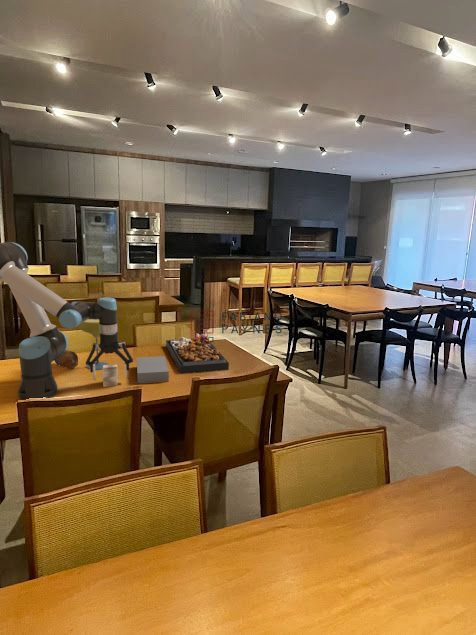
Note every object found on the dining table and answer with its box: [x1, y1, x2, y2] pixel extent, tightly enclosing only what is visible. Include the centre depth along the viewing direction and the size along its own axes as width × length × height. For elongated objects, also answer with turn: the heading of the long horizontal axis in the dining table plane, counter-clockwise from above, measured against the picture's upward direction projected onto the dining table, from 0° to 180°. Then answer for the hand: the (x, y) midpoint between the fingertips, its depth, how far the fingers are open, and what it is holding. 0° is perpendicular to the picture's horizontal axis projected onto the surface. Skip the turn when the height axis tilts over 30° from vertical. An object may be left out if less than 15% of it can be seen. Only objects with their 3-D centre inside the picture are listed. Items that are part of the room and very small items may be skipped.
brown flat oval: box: [53, 349, 79, 370], centre depth 208 cm, size 15×3×8 cm, turn 62°
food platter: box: [165, 331, 230, 375], centre depth 228 cm, size 45×25×10 cm, turn 19°
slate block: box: [136, 355, 170, 384], centre depth 202 cm, size 14×22×5 cm, turn 14°
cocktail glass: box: [76, 319, 110, 371], centre depth 207 cm, size 18×18×25 cm
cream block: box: [102, 364, 118, 388], centre depth 189 cm, size 6×6×8 cm
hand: (110, 377), depth 189 cm, fingers open, 13 cm apart
